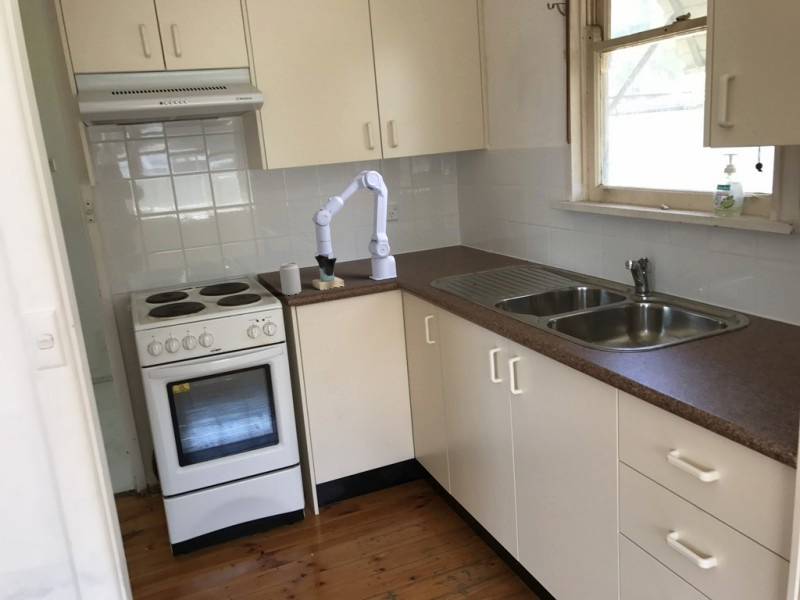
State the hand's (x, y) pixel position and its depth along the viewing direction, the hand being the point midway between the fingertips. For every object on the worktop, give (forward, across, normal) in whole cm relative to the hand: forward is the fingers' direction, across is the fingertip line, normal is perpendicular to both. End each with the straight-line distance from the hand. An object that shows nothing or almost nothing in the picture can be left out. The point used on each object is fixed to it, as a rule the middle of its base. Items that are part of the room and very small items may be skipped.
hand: (327, 274), depth 266 cm
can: (+5, +3, -16) cm, 17 cm away
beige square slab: (+6, 0, 0) cm, 6 cm away
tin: (+2, 0, 0) cm, 2 cm away
